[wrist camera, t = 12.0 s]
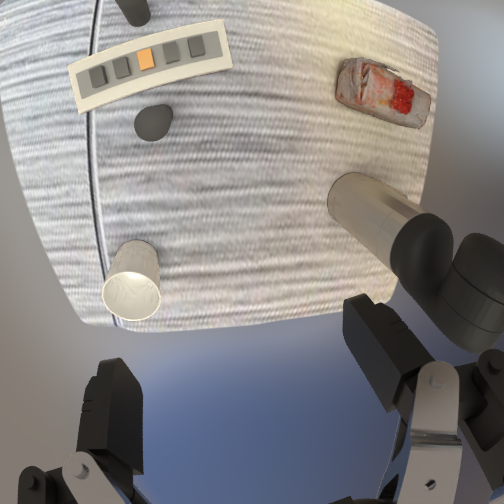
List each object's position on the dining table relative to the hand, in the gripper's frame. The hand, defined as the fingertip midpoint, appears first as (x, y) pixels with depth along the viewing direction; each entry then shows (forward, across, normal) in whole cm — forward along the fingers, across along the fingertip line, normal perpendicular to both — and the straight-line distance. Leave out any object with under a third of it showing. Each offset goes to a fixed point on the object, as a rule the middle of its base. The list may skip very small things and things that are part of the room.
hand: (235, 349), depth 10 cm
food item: (+35, -28, -6) cm, 46 cm away
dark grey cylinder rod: (+34, +3, -7) cm, 35 cm away
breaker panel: (+34, +3, -14) cm, 37 cm away
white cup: (+34, +13, +13) cm, 39 cm away
